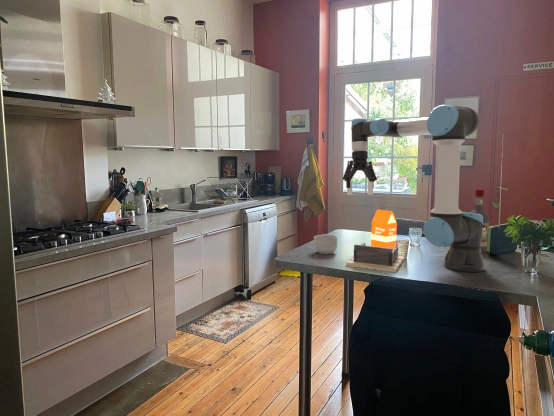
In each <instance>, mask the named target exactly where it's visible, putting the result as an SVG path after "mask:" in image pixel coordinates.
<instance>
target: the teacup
mask: <svg viewBox="0 0 554 416" xmlns="http://www.w3.org/2000/svg"><path fill="white" fill-rule="evenodd" d="M313 244H314V245H313V246H314V250H315V252H317V253H318V254H320V255H332V254H334V252H335V251H336V250H337V247H338V236H337V235H335V234H326V233H322V234H317V235H315V236H313Z"/></svg>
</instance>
